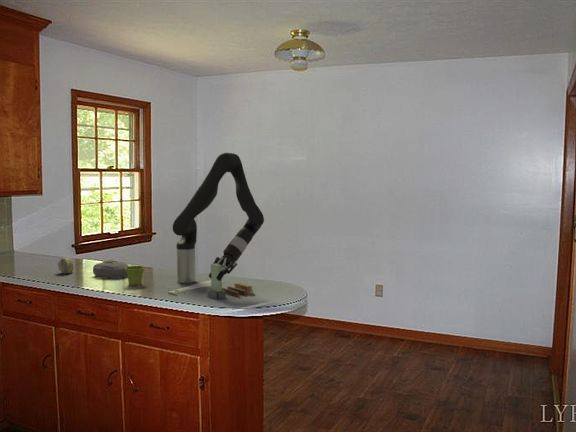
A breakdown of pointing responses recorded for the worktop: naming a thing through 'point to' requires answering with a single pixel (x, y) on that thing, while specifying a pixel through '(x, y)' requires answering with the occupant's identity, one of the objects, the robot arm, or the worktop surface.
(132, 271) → the plant pot
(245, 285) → the pine offcut top
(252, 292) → the pine offcut low
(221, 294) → the grey holder
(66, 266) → the garlic bulb
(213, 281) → the green board
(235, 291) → the walnut rack
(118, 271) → the small grey backpack
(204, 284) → the baseboard molding
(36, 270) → the worktop surface
